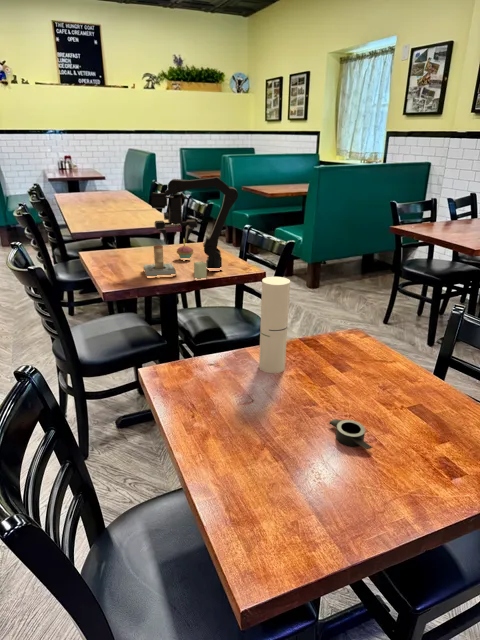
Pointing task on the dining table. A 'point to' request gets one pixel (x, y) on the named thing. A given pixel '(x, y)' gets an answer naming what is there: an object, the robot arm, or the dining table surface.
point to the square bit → (200, 270)
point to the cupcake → (185, 251)
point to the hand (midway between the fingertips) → (176, 243)
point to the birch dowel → (158, 257)
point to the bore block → (152, 271)
